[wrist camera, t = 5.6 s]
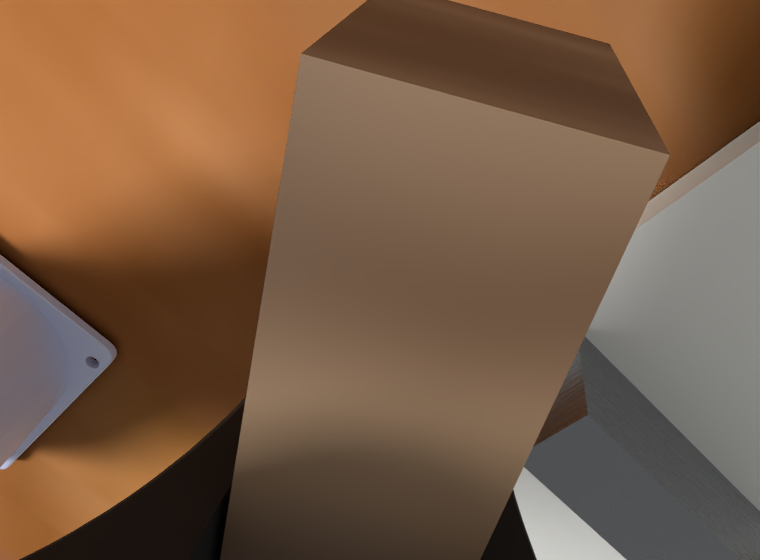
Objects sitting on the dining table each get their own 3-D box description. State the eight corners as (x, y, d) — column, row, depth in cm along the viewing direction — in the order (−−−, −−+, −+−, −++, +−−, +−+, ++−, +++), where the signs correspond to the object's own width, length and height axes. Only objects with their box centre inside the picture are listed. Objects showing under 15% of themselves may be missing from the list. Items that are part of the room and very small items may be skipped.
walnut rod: (380, 637, 19) (339, 859, 15) (256, 599, 19) (180, 808, 15) (610, 44, 11) (670, 155, 6) (387, -16, 11) (301, 52, 6)
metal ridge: (704, 549, 24) (735, 657, 21) (514, 368, 22) (513, 457, 19) (769, 520, 23) (812, 631, 20) (576, 327, 21) (587, 414, 18)
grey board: (535, 631, 30) (535, 653, 29) (309, 446, 27) (303, 464, 26) (1069, 400, 21) (1093, 423, 20) (821, 76, 17) (836, 87, 17)
